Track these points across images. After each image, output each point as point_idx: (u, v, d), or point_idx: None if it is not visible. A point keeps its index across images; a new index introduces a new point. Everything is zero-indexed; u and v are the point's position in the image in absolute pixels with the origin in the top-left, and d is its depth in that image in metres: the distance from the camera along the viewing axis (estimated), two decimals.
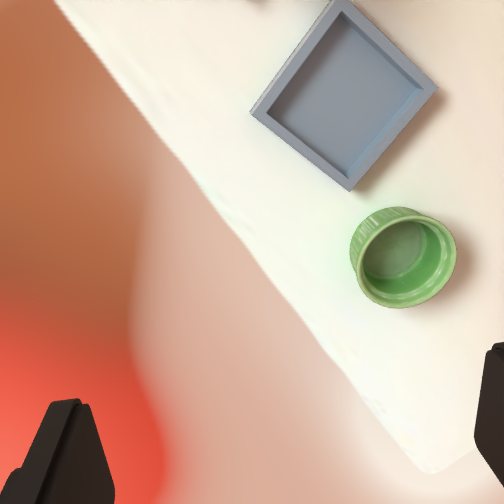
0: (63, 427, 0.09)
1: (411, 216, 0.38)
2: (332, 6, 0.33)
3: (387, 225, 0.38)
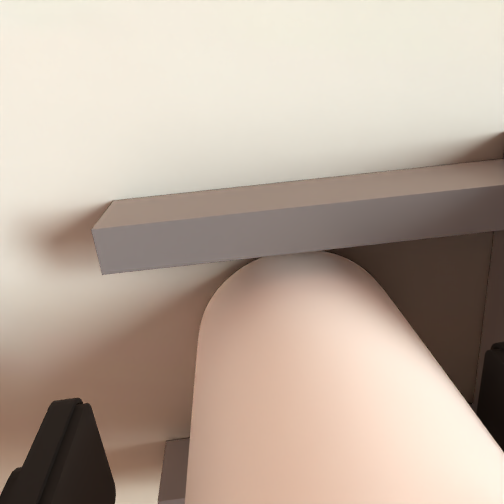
0: (64, 426, 0.09)
1: None
2: None
3: None
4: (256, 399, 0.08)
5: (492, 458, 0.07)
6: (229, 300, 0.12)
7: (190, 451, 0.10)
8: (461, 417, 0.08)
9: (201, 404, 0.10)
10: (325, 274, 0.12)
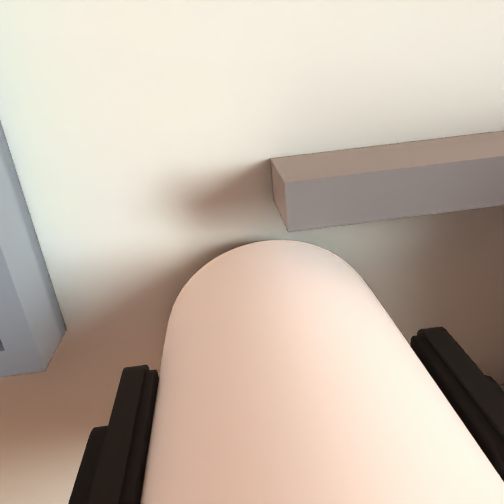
0: (140, 388, 0.10)
1: None
2: (30, 340, 0.12)
3: None
4: (212, 413, 0.07)
5: (480, 480, 0.06)
6: (195, 296, 0.11)
7: None
8: (445, 429, 0.07)
9: (158, 415, 0.09)
10: (299, 266, 0.11)
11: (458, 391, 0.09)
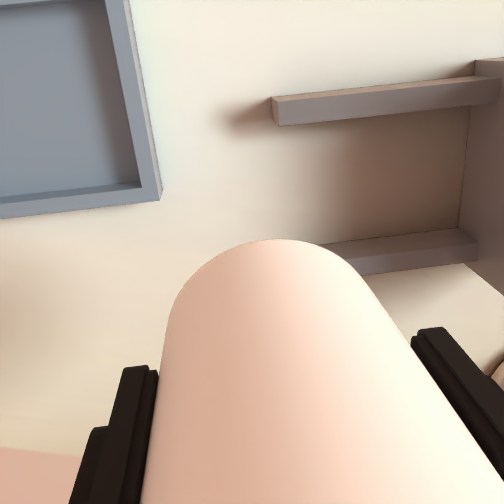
0: (140, 388, 0.10)
1: None
2: (154, 182, 0.24)
3: None
4: (211, 412, 0.07)
5: (479, 478, 0.06)
6: (195, 296, 0.11)
7: None
8: (444, 428, 0.07)
9: (158, 414, 0.09)
10: (298, 266, 0.11)
11: (458, 391, 0.09)
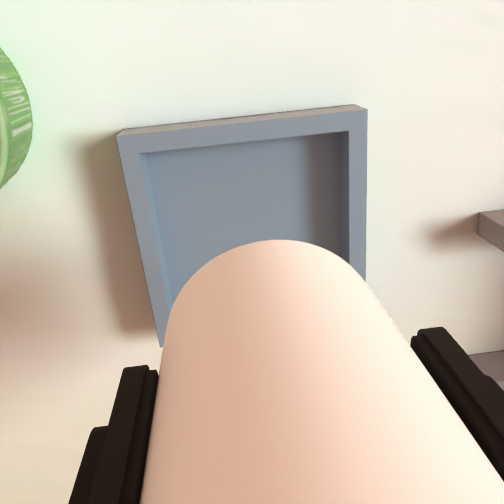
0: (140, 388, 0.10)
1: None
2: None
3: (2, 154, 0.17)
4: (211, 414, 0.07)
5: (481, 481, 0.06)
6: (194, 297, 0.11)
7: None
8: (446, 430, 0.07)
9: (157, 415, 0.09)
10: (299, 266, 0.11)
11: (458, 391, 0.09)
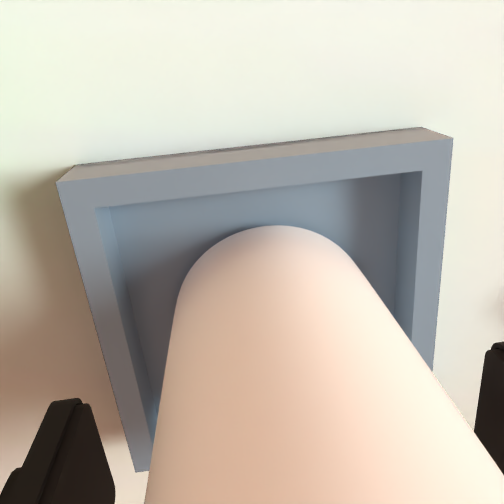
0: (63, 427, 0.09)
1: None
2: None
3: None
4: (215, 359, 0.09)
5: (436, 405, 0.07)
6: (201, 274, 0.13)
7: None
8: (412, 369, 0.08)
9: (169, 371, 0.10)
10: (293, 246, 0.12)
11: None
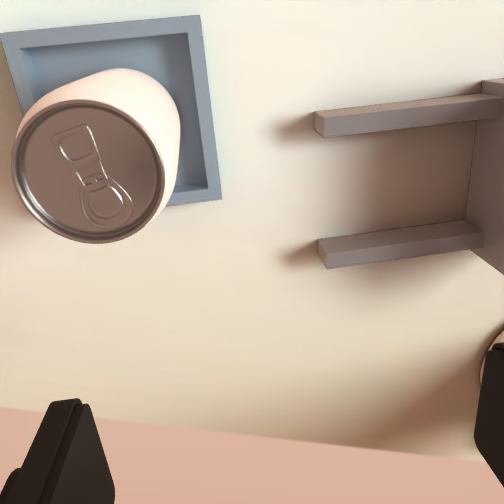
0: (63, 427, 0.09)
1: None
2: (218, 184, 0.29)
3: None
4: None
5: (139, 89, 0.20)
6: None
7: None
8: (139, 86, 0.21)
9: None
10: (122, 69, 0.25)
11: None
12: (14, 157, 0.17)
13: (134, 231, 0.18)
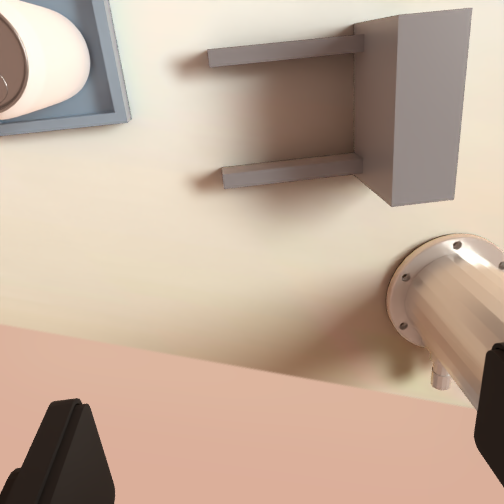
0: (63, 427, 0.09)
1: None
2: (123, 108, 0.34)
3: None
4: None
5: (23, 4, 0.25)
6: None
7: None
8: (27, 5, 0.26)
9: None
10: None
11: None
12: None
13: (8, 106, 0.24)
